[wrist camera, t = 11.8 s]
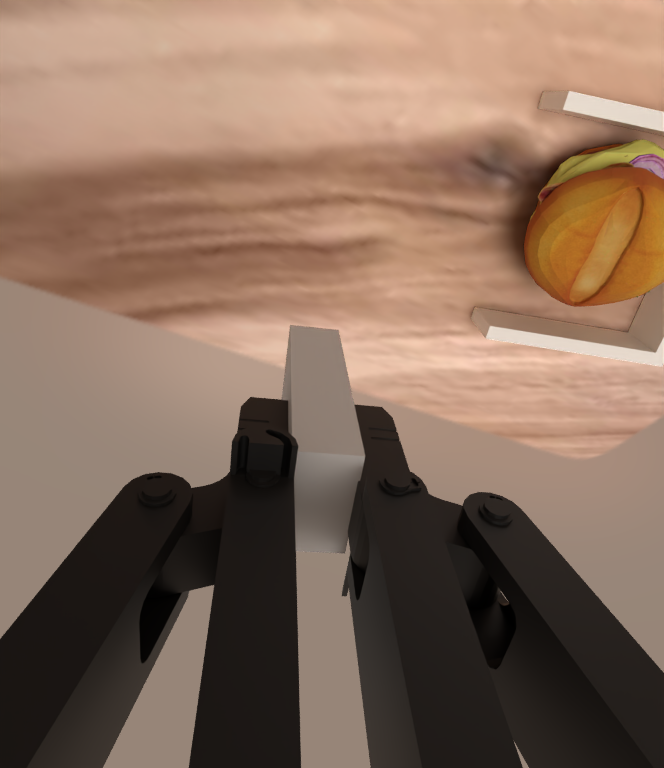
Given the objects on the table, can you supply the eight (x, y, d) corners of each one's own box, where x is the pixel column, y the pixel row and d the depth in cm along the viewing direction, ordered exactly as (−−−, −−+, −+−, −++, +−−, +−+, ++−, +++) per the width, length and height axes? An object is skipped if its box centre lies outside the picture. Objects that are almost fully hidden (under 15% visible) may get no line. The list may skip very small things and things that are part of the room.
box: (470, 318, 43) (485, 338, 39) (542, 91, 36) (569, 90, 32) (633, 345, 45) (662, 366, 41) (734, 133, 37) (778, 137, 34)
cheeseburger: (678, 248, 41) (735, 306, 33) (530, 291, 45) (549, 352, 37) (662, 109, 36) (725, 136, 28) (500, 170, 40) (513, 209, 32)
